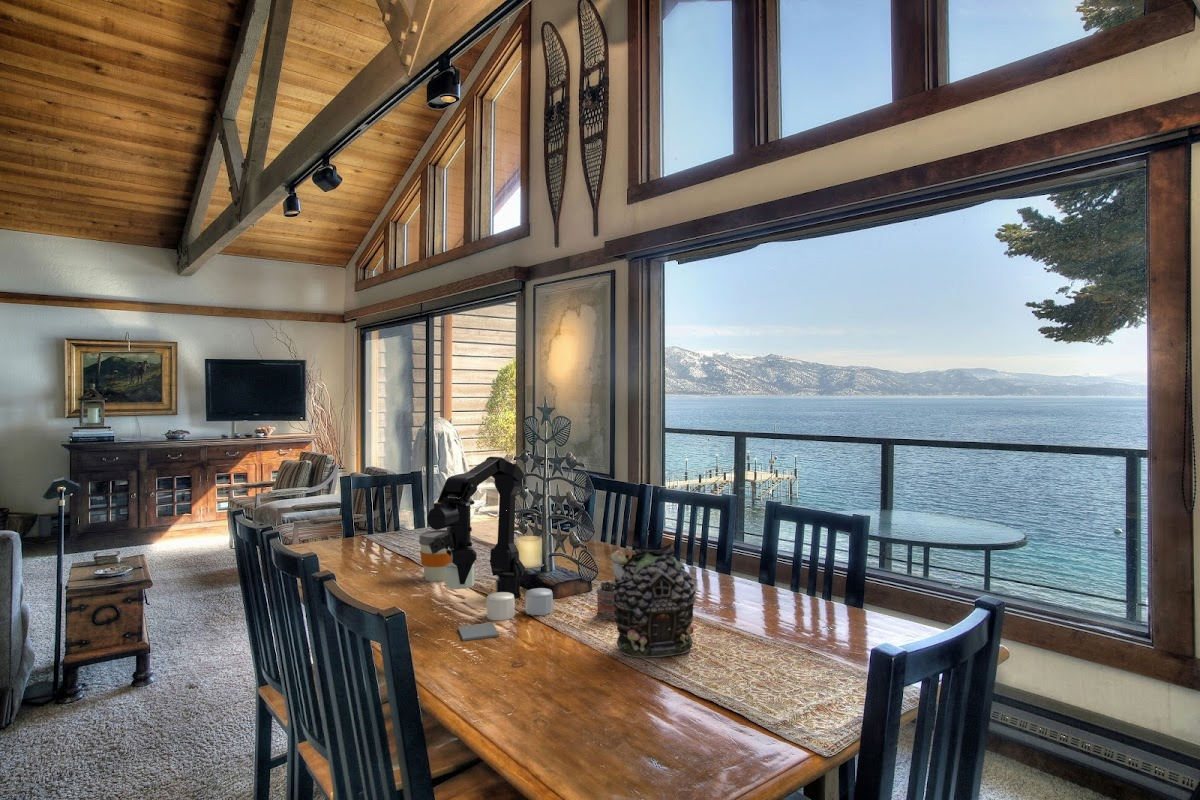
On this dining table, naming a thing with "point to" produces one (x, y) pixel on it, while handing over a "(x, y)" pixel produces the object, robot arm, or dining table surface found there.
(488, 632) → the slate coaster
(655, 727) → the dining table surface
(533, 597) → the light grey cylinder
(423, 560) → the reusable coffee cup
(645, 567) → the decorative house
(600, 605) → the lighter
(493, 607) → the cream cup
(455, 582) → the sage cup
